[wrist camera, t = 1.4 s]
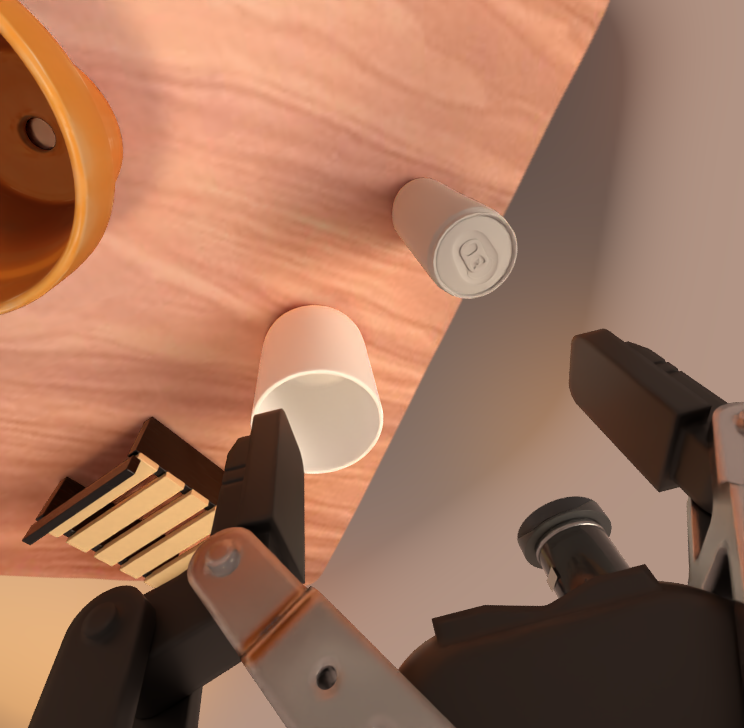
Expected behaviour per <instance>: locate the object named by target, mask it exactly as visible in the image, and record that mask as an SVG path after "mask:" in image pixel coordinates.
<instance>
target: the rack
mask: <svg viewBox="0 0 744 728" xmlns="http://www.w3.org/2000/svg"><path fill="white" fill-rule="evenodd" d="M128 457H129V459H127V460H126V461H124V462H123V463H121V464H120V465H118V466H117V467H116V468H114V469H113V470H111V471H110V472H108V473H107V474H105V475H104V476H103V477H101V478H100V479H98V480H97V481H95V482H94V483H92V484H91V485H89V486H88V487H87V488H85V487H84V486H82V485H80V484H79V483H77V482H75V481H74V480H72V479H70V478H69V477H66V478H64V479H63V480H61V481H60V482H59V484H58V485H57V487H56V488H55V490H54V492H53V493H52V495H51V496H50V498H49V499H48V501H47V502H46V504H45V505H44V507H43V509H42V510H41V512H40V513H39V515H38V516H37V518H36V521H37V522H36V523H35V524H33V525H32V526H31V527H30V529H29V530H28V532H27V533H26V535H25V537H24V538H23V540H22V541H23V542H25V543H27V544H29V545H31V544H33V543H34V542H36V541H37V540H39V539H40V538H42V537H43V536H45V535H46V534H48V533H49V534H51V535H53V536H55V537H57V538H58V537H60V536H61V535H65V536H67V537H69V538H68V540H67V542H66V543H68V544H70V545H72V546H74V547H76V548H77V549H79V550H81V551H83V552H85V553H86V552H88V551H89V550H93V551H95V552H96V553H95V555H94V557H95V558H97V559H99V560H101V561H103V562H105V563H106V564H108V565H110V566H113V565H115V564H116V563H118V564H120V565H121V567H120V571H122V572H124V573H126V574H128V575H130V576H132V577H134V578H136V579H137V578H139V577H141V576H143V577H145V580H144V583H146V584H148V585H149V586H151V587H154V588H157V587H159V586H160V585H162V584H164V583H166V582H168V581H170V580H171V579H173V578H175V577H177V576H178V575H180V574H181V573H183V572H184V571H185V570H187V569H188V565H189V562H190V560H191V558H192V556H193V554H194V553H195V551H196V550H197V548H198V547H199V546H200V545H201V544H202V543H203V542H204V541H205V540H204V541H203V542H201V543H199V544H198V545H196V546H194V547H193V548H191V549H189V550H188V551H186V552H185V553H183V554H181V555H180V556H179V553H180V552H181V551H183V550H184V549H186V548H188V547H189V546H191V545H193V544H194V543H196V542H197V541H199V540H201V539H202V538H204V537H206V536H207V535H209V534H210V533H211V530H212V525H213V520H214V516H215V511H216V506H217V502H218V497H219V492H220V488H221V486H222V479H223V474H224V473H225V472H224V471H223V470H222V469H221V468H219V467H218V466H217V465H215V464H214V463H213V462H211V461H210V460H209V459H207V458H206V457H205V456H203V455H202V454H201V453H200V452H198V451H197V450H196V449H194V448H193V447H192V446H190V445H189V444H188V443H186V442H185V441H184V440H182V439H181V438H180V437H179V436H177V435H176V434H175V433H173V432H172V431H171V430H169V429H168V428H167V427H165V426H164V425H163V424H161V423H160V422H159V421H158V420H156V419H155V418H154V417H151V418H149V419H148V420H146V421H145V422H144V424H143V426H142V428H141V430H140V432H139V434H138V436H137V438H136V440H135V442H134V444H133V446H132V448H131V450H130V452H129V454H128ZM152 474H154V475H156V476H157V478H156V479H154V480H153V481H151V482H150V483H148V484H147V485H145V486H144V487H142V488H141V489H139V490H138V491H136V492H135V493H133V494H132V495H130V496H129V497H127V498H126V499H124V500H123V501H121V502H120V503H118V504H117V505H114V504H112V503H110V502H112V501H113V500H115V499H116V498H118V497H119V496H121V495H122V494H124V493H125V492H127V491H128V490H130V489H131V488H133V487H134V486H136V485H137V484H138V483H140V482H141V481H143V480H144V479H146V478H147V477H149V476H150V475H152ZM178 492H181V493H182V494H183V495H181V496H180V497H178V498H177V499H175V500H174V501H172V502H171V503H169V504H168V505H166V506H164V507H163V508H161V509H160V510H158V511H157V512H155V513H154V514H152V515H151V516H149V517H147V518H146V519H144V520H143V521H140V520H138V518H140V517H141V516H143V515H144V514H146V513H147V512H149V511H151V510H152V509H154V508H155V507H157V506H158V505H160V504H161V503H163V502H164V501H166V500H167V499H169V498H171V497H172V496H174V495H175V494H177V493H178ZM203 508H204V509H206V510H207V511H205V512H203V513H202V514H200V515H199V516H197V517H195V518H194V519H192V520H191V521H189V522H187V523H186V524H184V525H183V526H181V527H180V528H178V529H176V530H175V531H173V532H172V533H170V534H168V535H167V536H165V535H163V534H164V533H165V532H167V531H169V530H170V529H172V528H173V527H175V526H177V525H178V524H180V523H181V522H183V521H184V520H186V519H188V518H189V517H191V516H192V515H194V514H196V513H197V512H199V511H200V510H202V509H203ZM207 539H208V538H207Z"/></svg>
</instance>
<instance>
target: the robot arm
mask: <svg viewBox="0 0 744 728" xmlns="http://www.w3.org/2000/svg"><path fill="white" fill-rule="evenodd" d="M569 388H570V392H571V395H572V397H573V399H574V401H575V402H576V404H577V405H578V406H579V407H580V408H581V409H582V410H583V411H584V412H585V413H586V414H587V416H589V418H590V419H591V420H592V421H593V422H594V423H595V424H596V425H597V426H598V427H599V428H600V430H601V431H602V432H603V433H604V434H605V435H606V436H607V437H608V438H609V439H610V440H611V441H612V442H613V443H614V444H615V446H616V447H617V448H618V449H619V450H620V451H621V452H622V453H623V454H624V455H625V456H626V457H627V459H628V460H629V461H630V462H631V463H632V464H633V465H634V466H635V467H636V468H637V469H638V470H639V471H640V472H641V474H642V475H643V476H645V478H646V479H647V480H648V481H649V482H650V483H651V484H652V485H653V486H654V488H655V489H657V491H658V492H662V491H666V490H669V489H673V488H677V487H680V488H681V489H682V490H683V491H684V492H685V493H686V494H687V495H688V501H687V525H688V551H689V580H688V585H684V584H679V583H672V582H664V581H657V579H656V578H655V577H654V575H653V574H652V573H651V571H650V570H649V569H648V567H647V566H646V565H645V564H644V565H640V566H636V567H632V568H630V567H629V565H628V564H627V563H626V561H625V560H624V558H623V557H622V555H621V554H620V553H619V551H618V550H617V548H616V547H615V545H614V544H613V543H612V541H611V540H610V538H609V537H608V536H607V534H606V532H605V530H604V529H603V527H602V526H601V525H600V523H599V522H597V521H596V520H594V519H591V518H574V519H569V520H566V521H563V522H561V523H558V524H556V525H555V526H553V527H551V528H550V529H548V530H547V531H546V532H545V533H543V534H542V536H541V537H540V538H539V539H538V541H537V542H536V544H535V548H534V553H535V556H536V558H537V560H538V562H539V564H540V565H541V566H542V568H543V570H544V571H545V574H546V576H547V577H548V579H547V583H548V585H549V587H550V589H551V590H552V591H553V589H554V591H555V593H556V595H557V597H558V599H557V600H556V601H554V602H552V603H550V604H548V605H545V606H503V605H500V606H499V605H498V606H497V605H483V606H479V607H475V608H472V609H468V610H464V611H460V612H456V613H452V614H448V615H444V616H440V617H437V618H433V619H432V622H433V627H434V631H435V636H434V637H432V638H430V639H429V640H427V641H425V642H424V643H423V644H422V645H421V646H419V647H418V648H417V649H416V650H414V651H413V653H412V654H411V655H410V656H409V657H408V658H407V659H406V660H405V661H404V663H403V664H402V665H401V667H400V668H399V669H396V667H394V666H393V664H392V663H391V662H390V661H389V660H388V659H386V658H385V657H384V655H382V654H381V653H380V651H379V650H378V649H377V648H376V647H375V646H374V645H372V643H370V641H369V640H368V639H367V638H365V636H364V635H363V634H362V633H361V632H360V631H359V630H357V628H356V627H355V626H354V625H353V624H351V622H350V621H349V620H348V619H347V618H346V617H345V616H343V615H342V613H341V612H339V610H338V609H336V608H335V607H334V606H333V605H332V604H331V603H330V602H329V601H328V600H327V599H326V598H325V597H324V596H323V595H322V594H321V593H320V592H319V591H318V590H316V589H315V588H314V587H311V586H310V587H309V588H306V587H305V586H304V585H303V584H304V583H305V537H304V466H303V460H302V456H301V452H300V449H299V447H298V444H297V442H296V439H295V436H294V434H293V431H292V429H291V426H290V424H289V421H288V418H287V416H286V413H285V411H284V410H283V409H282V408H280V409H276V410H272V411H268V412H264V413H260V414H256V415H254V417H253V422H252V428H251V435H249V436H245V437H241V438H238V440H237V441H236V443H235V444H234V446H233V447H232V448H231V450H230V451H229V453H228V455H227V460H226V465H225V469H224V470H225V473H224V474H223V479H222V486H221V488H220V492H219V497H218V502H217V506H216V511H215V516H214V520H213V525H212V530H211V534H210V537H209V538H208V539H206V540H205V541H204V542H203V543H202V544H201V545H200V546H199V547H198V548H197V550H196V551H195V553H194V554H193V556H192V558H191V560H190V562H189V565H188V569H187V570H185V571H184V572H183V573H181V574H180V575H178V576H177V577H175V578H173V579H171V580H170V581H168V582H166V583H164V584H162V585H160V586H159V587H157V588H155V589H153V590H151V591H149V592H148V593H146V594H144V595H143V594H142V593H141V592H140V591H139V590H138V589H137V588H135V587H133V586H119V587H115V588H112V589H110V590H108V591H106V592H104V593H102V594H100V595H99V596H97V597H96V598H94V599H93V600H92V601H91V602H89V603H88V604H87V605H86V606H85V607H84V608H83V609H82V610H81V612H79V614H78V615H77V616H76V617H75V619H74V620H73V622H72V623H71V624H70V626H69V628H68V630H67V632H66V634H65V636H64V639H63V641H62V644H61V646H60V649H59V651H58V654H57V656H56V659H55V661H54V664H53V666H52V669H51V671H50V674H49V676H48V679H47V681H46V684H45V686H44V689H43V691H42V694H41V697H40V699H39V701H38V704H37V706H36V709H35V711H34V714H33V716H32V719H31V721H30V724H29V727H28V728H198V720H199V712H200V703H201V695H202V687H203V686H204V685H205V684H207V683H208V682H210V681H211V680H213V679H215V678H216V677H218V676H219V675H221V674H222V673H224V672H226V671H227V670H229V669H230V668H232V667H233V666H235V665H237V664H238V663H239V662H241V661H242V663H243V664H244V666H245V667H246V669H247V670H248V672H249V673H250V675H251V676H252V678H253V679H254V681H255V682H256V683H257V685H258V686H259V688H260V689H261V691H262V692H263V694H264V695H265V697H266V698H267V700H268V701H269V702H270V704H271V705H272V707H273V708H274V710H275V711H276V713H277V714H278V716H279V717H280V719H281V720H282V722H283V723H284V724H285V726H286V727H287V728H744V402H735V403H727V402H725V401H724V400H722V399H721V398H720V397H718V396H717V395H715V394H714V393H712V392H711V391H709V390H708V389H707V388H705V387H703V386H702V385H701V384H699V383H698V382H696V381H695V380H693V379H692V378H691V377H689V376H688V375H686V374H685V373H683V372H682V371H678V369H677V368H676V367H675V366H673V365H672V364H670V363H669V362H665V360H664V359H663V358H662V357H660V356H659V355H657V354H656V353H655V352H653V351H652V350H650V349H648V348H645V347H642V346H640V345H637V344H634V343H631V342H624V341H622V340H621V339H619V338H618V337H617V336H615V335H614V334H613V333H611V332H610V331H608V330H606V329H600V330H596V331H591V332H588V333H583V334H579V335H576V336H574V337H573V339H572V343H571V356H570V372H569Z"/></svg>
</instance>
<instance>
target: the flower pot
mask: <svg viewBox="0 0 744 728" xmlns="http://www.w3.org/2000/svg"><path fill="white" fill-rule="evenodd" d="M33 117H37V118H40V119H42V120H44V121H45V122H46V123H48V124H49V126H50V127H51V128H52V130H53V132H54V134H55V136H56V143H55V146H54V147H53V148H52V149H51V150H43V149H41V148H39V147H37V146H35V145H34V144H33V143H32V142H31V141H30V140H29V138H28V136H27V134H26V129H25V126H26V122H27V121H28V119H30V118H33ZM122 158H123V147H122V138H121V134H120V129H119V126H118V123H117V120H116V118H115V116H114V113H113V111H112V109H111V107H110V106H109V104H108V102H107V101H106V99H105V98H104V96H103V95H102V93H101V92H100V91H99V89H98V88H97V87H96V86H95V84H94V83H93V82H92V81H91V80H90V79H89V78H88V77H87V76H86V75H85V74H84V73H83V72H82V71H81V70H80V69H78V68H77V67H76V66H75V65H74V64H73V63H72V62H71V60H70V59H69V58H68V56H67V55H66V53H65V52H64V51H63V49H62V48H61V47H60V45H59V44H58V43H57V42H56V40H55V39H54V38H53V37H52V36H51V34H50V33H49V32H48V31H47V30H46V29H45V28H44V26H43V25H42V24H41V23H40V22H39V21H38V20H37V19H36V18H35V17H34V16H33V15H32V14H31V13H30V12H29V11H28V10H27V9H26V8H25V7H24V6H23V5H22V4H21V3H20V2H19V1H17V0H0V315H1V314H5V313H8V312H11V311H14V310H16V309H19V308H21V307H23V306H26V305H28V304H29V303H31V302H33V301H35V300H37V299H38V298H40V297H41V296H43V295H44V294H45V293H47V292H48V291H49V290H51V289H52V288H53V287H55V286H56V285H57V284H59V283H60V282H61V281H63V280H64V279H65V278H66V277H67V276H69V275H70V274H71V273H72V272H74V271H75V270H76V269H77V268H78V267H79V266H80V265H81V264H82V263H83V262H84V261H85V260H86V259H87V258H88V257H89V255H90V254H91V253H92V252H93V251H94V249H95V248H96V246H97V245H98V243H99V242H100V240H101V238H102V237H103V235H104V232H105V230H106V227H107V225H108V222H109V219H110V216H111V211H112V207H113V202H114V191H115V182H116V180H117V177H118V175H119V172H120V168H121V164H122Z"/></svg>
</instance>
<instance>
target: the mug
mask: <svg viewBox="0 0 744 728" xmlns="http://www.w3.org/2000/svg"><path fill="white" fill-rule="evenodd" d="M280 408H282V409H283V410H284V411H285V413H286V416H287V418H288V421H289V424H290V426H291V429H292V431H293V434H294V436H295V439H296V442H297V444H298V447H299V449H300V452H301V456H302V460H303V466H304V473H309V474H320V473H328V472H333V471H337V470H340V469H343V468H345V467H348V466H350V465H352V464H354V463H355V462H357V461H359V460H360V459H361V458H363V457H364V456H365V455H366V454H367V453H368V452H369V451H370V450H371V449H372V448H373V447H374V445H375V444H376V442H377V440H378V438H379V436H380V434H381V431H382V427H383V411H382V406H381V402H380V399H379V395H378V391H377V387H376V384H375V380H374V376H373V372H372V369H371V365H370V361H369V357H368V354H367V350H366V346H365V343H364V340H363V337H362V335H361V333H360V331H359V329H358V327H357V326H356V325H355V323H354V322H353V321H352V320H351V319H350V318H349V317H347V316H346V315H345V314H343V313H342V312H340V311H338V310H336V309H333V308H330V307H327V306H321V305H307V306H302V307H298V308H295V309H292V310H290V311H288V312H286V313H285V314H283V315H282V316H280V317H279V318H278V319H277V320H276V321H275V322H274V323H273V325H272V326H271V328H270V329H269V331H268V332H267V335H266V337H265V340H264V344H263V348H262V354H261V360H260V366H259V372H258V378H257V384H256V390H255V396H254V402H253V408H252V415H251V428H252V422H253V417H254V415H256V414H260V413H264V412H268V411H272V410H276V409H280Z"/></svg>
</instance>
